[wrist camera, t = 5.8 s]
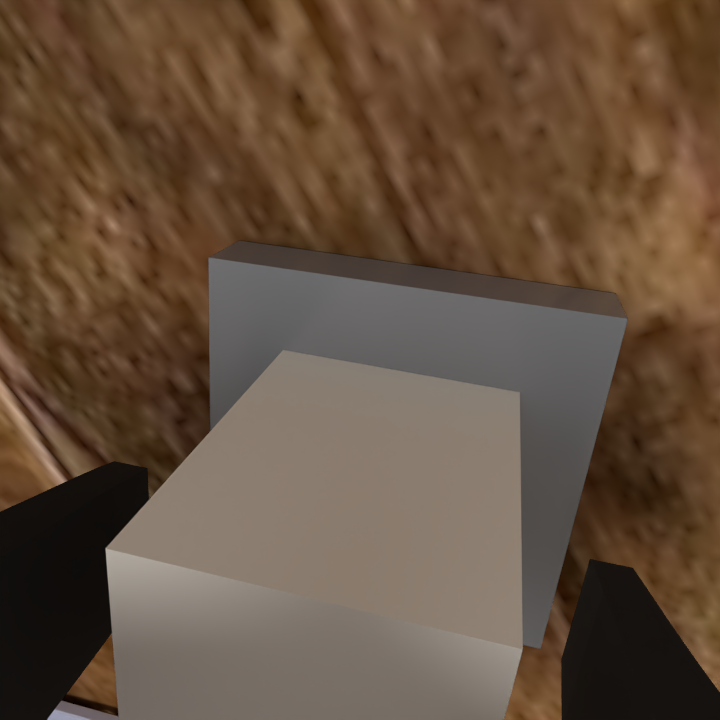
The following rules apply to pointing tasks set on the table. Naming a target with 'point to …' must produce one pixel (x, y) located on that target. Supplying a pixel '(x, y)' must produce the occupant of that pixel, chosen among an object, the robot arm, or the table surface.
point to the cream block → (329, 556)
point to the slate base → (436, 360)
